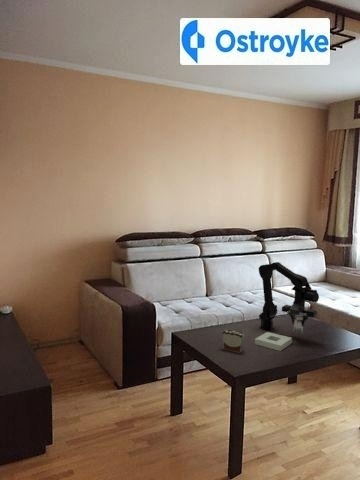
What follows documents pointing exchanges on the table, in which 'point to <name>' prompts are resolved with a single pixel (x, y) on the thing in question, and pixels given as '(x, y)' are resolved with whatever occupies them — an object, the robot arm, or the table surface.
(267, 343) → the bore block
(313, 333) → the table surface
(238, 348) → the food container
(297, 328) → the gray cylinder
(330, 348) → the table surface
